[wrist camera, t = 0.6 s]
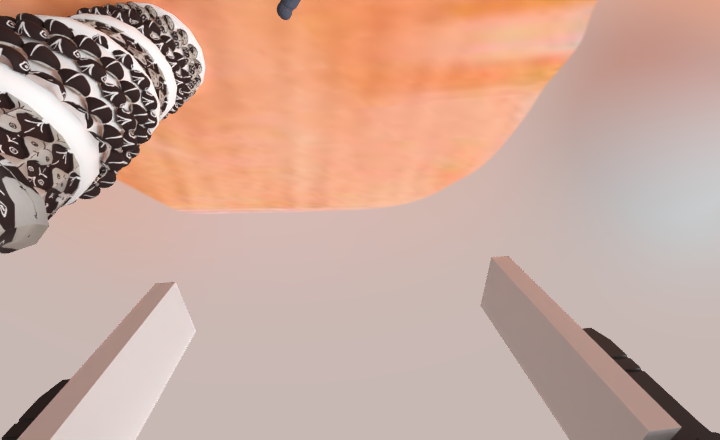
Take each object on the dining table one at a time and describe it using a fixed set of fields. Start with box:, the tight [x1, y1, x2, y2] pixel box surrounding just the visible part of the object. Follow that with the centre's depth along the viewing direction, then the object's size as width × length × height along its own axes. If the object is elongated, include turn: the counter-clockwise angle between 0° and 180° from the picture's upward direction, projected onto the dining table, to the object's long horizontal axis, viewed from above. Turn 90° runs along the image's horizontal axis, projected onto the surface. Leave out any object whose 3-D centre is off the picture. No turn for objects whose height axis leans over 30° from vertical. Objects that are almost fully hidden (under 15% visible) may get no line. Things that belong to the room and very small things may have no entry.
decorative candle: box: [0, 2, 206, 253], centre depth 19 cm, size 9×9×25 cm
